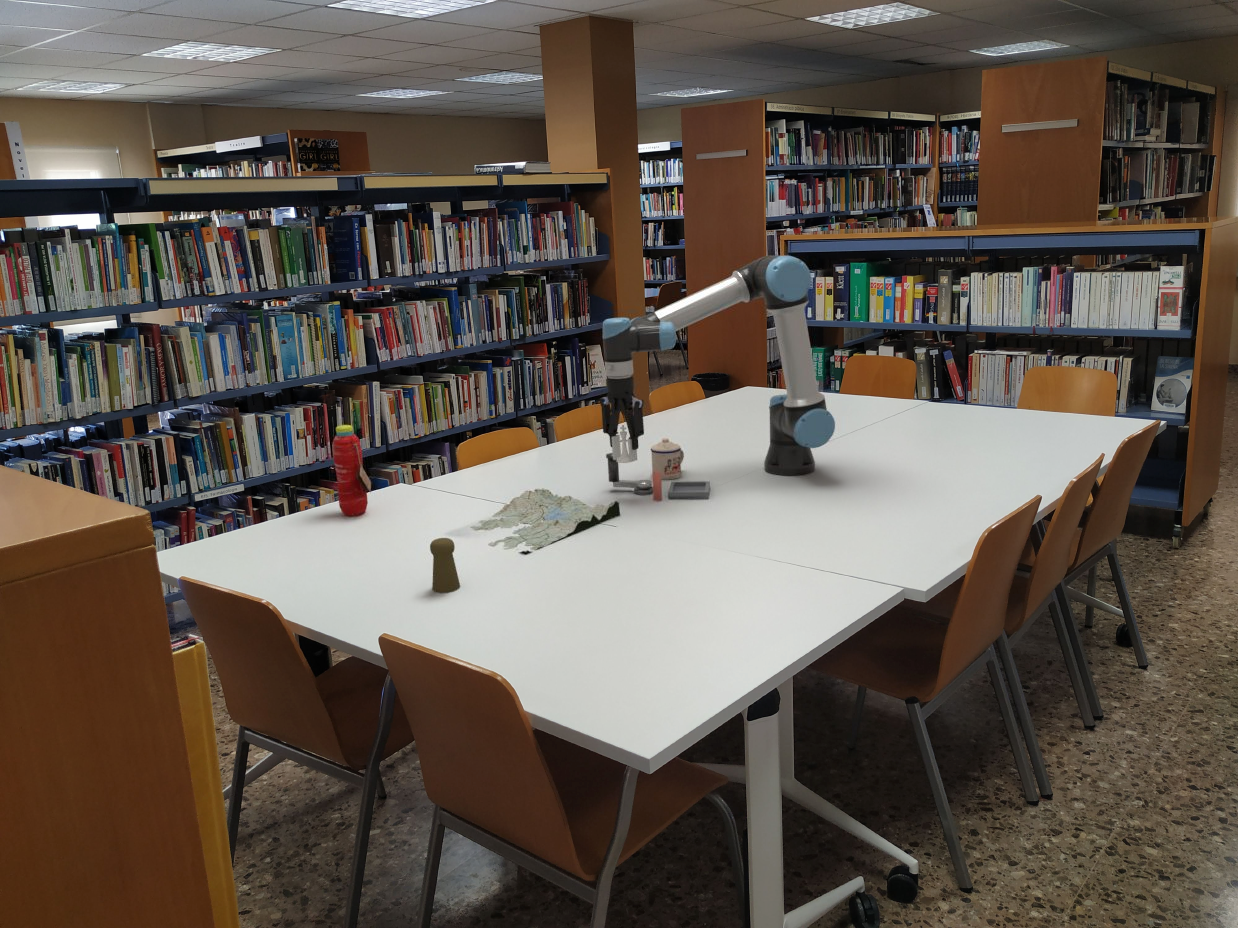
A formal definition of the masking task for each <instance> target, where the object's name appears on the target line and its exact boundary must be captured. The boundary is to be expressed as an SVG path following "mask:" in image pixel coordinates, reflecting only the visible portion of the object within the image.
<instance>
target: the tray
mask: <svg viewBox="0 0 1238 928" xmlns="http://www.w3.org/2000/svg"><path fill="white" fill-rule="evenodd" d="M710 482H711V481H710V480H704V481H703V480H702V481H701V480H699V481H697V480H696V481H695V480H694V481H692V480H691V481H689V480H688V481H685V480H684V481H671V482H670V485H669V488H668V493H667V495H668V500H709V498H710V491H711V490H710V489H711V486H710V485H711V483H710Z"/></svg>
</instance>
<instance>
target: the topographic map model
mask: <svg viewBox="0 0 1238 928" xmlns="http://www.w3.org/2000/svg"><path fill="white" fill-rule="evenodd" d="M620 509H621V508H620V502H619V501H617V500H615V501H612V502H610V503H609V504H608V505H605V506H604V505H603V504H601V505H600V504H599V503H597V504H596V505H595V506H593V507H591V506H590V505H588V504H586V503H585V502H582V501H581V500H579V499H577V498H573V497H572V496H571V495H565V496H559V495H558V494H555V495H554V494H553V493H552V492H551V491H550V489H545V488H544V487H543V488H535V489H534V490H533V491H532V490H525V491H524V492H523V493H522V494H520V495H519V496H516V497H513V498H512V499H511V501H509V504H504V506H503V507H502V508H501V509H500V510H499V511H498V512H496V513H494V514H493V515H492V516H491V517H492V518H495V519H488V520H486V519H483V520H482V519H481V520H479V522H478V523H479V524H481V525H480V526H479V525H477V526H476V525H474V526H470V527H469V528H471V529H473V530H474V531H476V532H477V531H480V530H481V531H493V530H494V529H496V528H500V529H512V528H513V527H516V526H519V525H524V526H523V527H521V528H520V527H519V528H517V530H513V532H512V534H513V535H509V536H506V537H504V538H503V539H497V540H495V542H494V541H493V542H490V543H488V544H487V546H489V547H490V546H491V547H496V546H497V545H499V543H504V545H502V547H504V548H502V549H503V550H510V549H515V548H517V549H516V550H518V551H519V548H518V545H523V544H524V546H525V547H530V550H527V549H526V550H522V551H520V552H518V554H521V555H529V554H531V553H532V551H534V552H536V551H538V550H540V549H543V548H545V547H548V546H550V545H553V544H555V543H558V542H559V541H562V540H565V539H568V538H569V537H572V536H574V535H576V534H577V535H578V534H579V533H581V532H583V531H585V530H588V529H591V528H593V527H595V526H598V525H601V524H602V523H603V524H604V523H605V522H607V521H610V520H612V519H615V518H618V516H621V510H620ZM498 517H502V518H499V519H498ZM526 525H528V526H526ZM529 525H530V526H529ZM516 535H518V536H516Z"/></svg>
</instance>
